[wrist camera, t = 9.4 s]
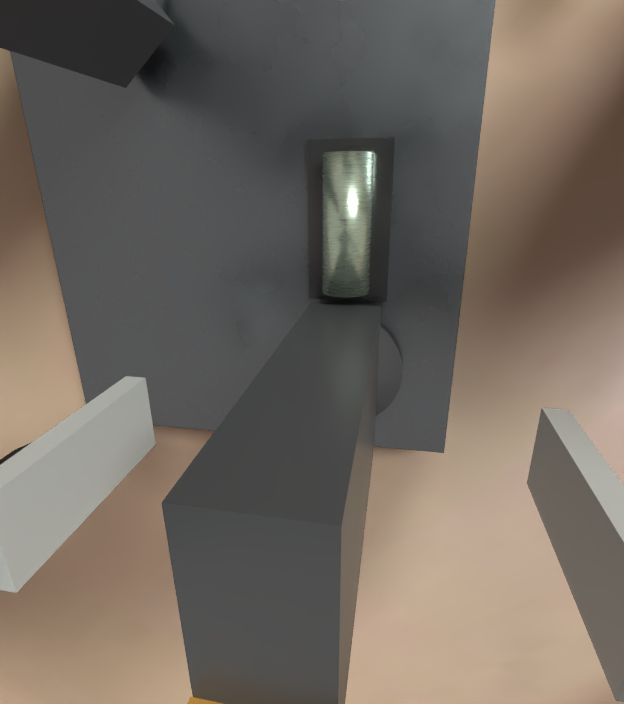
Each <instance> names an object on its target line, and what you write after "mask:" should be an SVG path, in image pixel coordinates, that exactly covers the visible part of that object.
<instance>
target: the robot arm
mask: <svg viewBox="0 0 624 704" xmlns="http://www.w3.org/2000/svg"><path fill="white" fill-rule="evenodd" d="M155 445H156V442H155V436H154V429H153V423H152V416H151V410H150V404H149V397H148V391H147V384H146V378H143V377H130V376H125V377H124V378H123V379H121V380H120V381H118V382H117V383H116V384H114V385H113V386H111V387H110V388H108V389H107V390H106V391H104V392H103V393H101V394H100V395H99V396H97V397H96V398H94V399H93V400H91V401H90V402H89V403H87V404H86V405H84V406H83V407H82V408H80V409H79V410H77V411H76V412H74V413H73V414H72V415H70V416H69V417H67V418H66V419H65V420H63V421H62V422H60V423H59V424H57V425H56V426H55V427H53V428H52V429H50V430H49V431H48V432H46V433H45V434H43V435H42V436H40V437H39V438H38V439H36V440H35V441H33V442H31V443H29V444H27V445H25V446H23V447H20V448H18V449H16V450H14V451H12V452H11V453H10V454H8V455H7V456H5V457H4V458H2V459H1V460H0V590H2V591H7V592H13V593H17V592H18V591H19V590H20V589H21V588H22V586H23V585H24V584H25V583H26V582H27V581H28V580H29V579H30V578H31V577H32V576H33V575H34V574H35V573H36V572H37V570H38V569H39V568H40V567H41V566H42V565H43V564H44V563H45V562H46V561H47V560H48V559H49V558H50V557H51V556H52V555H53V553H54V552H55V551H56V550H57V549H58V548H59V547H60V546H61V545H62V544H63V543H64V542H65V541H66V540H67V539H68V537H69V536H70V535H71V534H72V533H73V532H74V531H75V530H76V529H77V528H78V527H79V526H80V525H81V524H82V523H83V521H84V520H85V519H86V518H87V517H88V516H89V515H90V514H91V513H92V512H93V511H94V510H95V509H96V508H97V507H98V505H99V504H100V503H101V502H102V501H103V500H104V499H105V498H106V497H107V496H108V495H109V494H110V493H111V492H112V491H113V489H114V488H115V487H116V486H117V485H118V484H119V483H120V482H121V481H122V480H123V479H124V478H125V477H126V476H127V475H128V473H129V472H130V471H131V470H132V469H133V468H134V467H135V466H136V465H137V464H138V463H139V462H140V461H141V460H142V459H143V457H144V456H145V455H146V454H147V453H148V452H149V451H150V450H151V449H152V448H153V447H154V446H155ZM527 484H528V487H529V489H530V492H531V494H532V497H533V499H534V501H535V504H536V506H537V509H538V511H539V514H540V516H541V519H542V521H543V524H544V526H545V528H546V531H547V533H548V536H549V538H550V541H551V543H552V546H553V548H554V550H555V553H556V555H557V558H558V560H559V563H560V565H561V568H562V570H563V572H564V575H565V577H566V580H567V582H568V585H569V587H570V590H571V592H572V595H573V597H574V599H575V602H576V604H577V607H578V609H579V612H580V614H581V617H582V619H583V621H584V624H585V626H586V629H587V631H588V634H589V636H590V639H591V641H592V643H593V646H594V648H595V651H596V653H597V656H598V658H599V661H600V663H601V666H602V668H603V670H604V673H605V675H606V678H607V680H608V683H609V685H610V688H611V690H612V692H613V695H614V697H615V700H616V701H621V702H624V485H623V483H622V482H621V481H620V479H619V478H618V477H617V475H616V474H615V472H614V471H613V470H612V468H611V467H610V465H609V464H608V463H607V461H606V460H605V459H604V457H603V456H602V454H601V453H600V452H599V450H598V449H597V448H596V446H595V445H594V443H593V442H592V441H591V439H590V438H589V436H588V435H587V434H586V432H585V431H584V430H583V428H582V427H581V425H580V424H579V423H578V421H577V420H576V418H575V417H574V416H573V414H572V413H571V412H570V410H567V409H554V408H542V409H541V414H540V419H539V424H538V429H537V434H536V440H535V445H534V450H533V455H532V460H531V465H530V470H529V475H528V480H527Z"/></svg>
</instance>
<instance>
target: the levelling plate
mask: <svg viewBox="0 0 624 704" xmlns="http://www.w3.org/2000/svg"><path fill="white" fill-rule="evenodd" d="M494 8H495V0H168V9H167V16H168V17H169V18H170V20H171V21H172V22H173V24H174V27H173V28H172V29H171V31H170V32H169V33H168V34H167V36H166V37H165V38H164V40H163V41H162V42H161V43H160V45H159V46H158V47H157V49H156V50H155V51H154V52H153V54H152V55H151V56H150V58H149V59H148V60H147V61H146V63H145V64H144V65H143V67H142V68H141V69H140V71H139V72H138V73H137V74H136V76H135V77H134V78H133V80H132V81H131V82H130V83H129V85H128V86H127V87H126V88H124V87H121V86H118V85H115V84H112V83H108V82H105V81H102V80H99V79H96V78H93V77H90V76H87V75H84V74H81V73H77V72H74V71H71V70H68V69H65V68H62V67H59V66H56V65H53V64H50V63H46V62H43V61H40V60H37V59H34V58H31V57H28V56H25V55H22V54H19V53H15V52H12V51H10V52H11V57H12V62H13V66H14V71H15V76H16V80H17V85H18V89H19V94H20V99H21V103H22V108H23V113H24V117H25V122H26V127H27V131H28V136H29V141H30V145H31V150H32V155H33V159H34V164H35V168H36V173H37V178H38V182H39V187H40V192H41V196H42V201H43V206H44V210H45V215H46V220H47V224H48V229H49V233H50V238H51V243H52V247H53V252H54V257H55V261H56V266H57V271H58V275H59V280H60V285H61V289H62V294H63V298H64V303H65V308H66V312H67V317H68V322H69V326H70V331H71V336H72V340H73V345H74V350H75V354H76V359H77V364H78V368H79V373H80V377H81V382H82V387H83V391H84V396H85V401H86V404H87V403H89V402H90V401H91V400H93V399H94V398H96V397H97V396H99V395H100V394H101V393H103V392H104V391H106V390H107V389H108V388H110V387H111V386H113V385H114V384H116V383H117V382H118V381H120V380H121V379H123V378H124V377H125V376H130V377H143V378H146V384H147V391H148V397H149V404H150V410H151V416H152V423H153V425H159V426H169V427H180V428H190V429H201V430H211V431H216V429H217V428H218V427H219V425H220V424H221V423H222V421H223V420H224V419H225V417H226V416H227V414H228V413H229V412H230V410H231V409H232V408H233V406H234V405H235V404H236V402H237V401H238V400H239V398H240V397H241V396H242V394H243V393H244V392H245V390H246V389H247V388H248V386H249V385H250V384H251V382H252V381H253V380H254V378H255V377H256V376H257V374H258V373H259V372H260V370H261V369H262V368H263V366H264V365H265V364H266V362H267V361H268V359H269V358H270V357H271V355H272V354H273V353H274V351H275V350H276V349H277V347H278V346H279V345H280V343H281V342H282V341H283V339H284V338H285V337H286V335H287V334H288V333H289V331H290V330H291V329H292V327H293V326H294V325H295V323H296V322H297V321H298V319H299V318H300V317H301V315H302V314H303V313H304V311H305V310H306V309H307V307H308V306H309V304H310V303H311V304H336V305H360V306H381V314H380V324H381V325H382V326H383V327H384V328H386V329H387V330H388V331H389V333H390V334H391V335H392V336H393V338H394V339H395V341H396V343H397V345H398V347H399V350H400V353H401V357H402V381H401V386H400V389H399V391H398V394H397V396H396V397H395V399H394V400H393V402H392V403H391V404H390V405H389V406H388V407H387V408H386V409H385V410H384V411H383V412H381V413H380V414H378V415H376V419H375V440H374V446H377V447H388V448H398V449H408V450H419V451H429V452H439V453H444V447H445V438H446V429H447V420H448V412H449V403H450V394H451V385H452V376H453V368H454V359H455V350H456V341H457V333H458V324H459V315H460V306H461V297H462V289H463V280H464V271H465V262H466V254H467V245H468V236H469V227H470V218H471V210H472V201H473V192H474V183H475V175H476V166H477V157H478V148H479V139H480V131H481V122H482V113H483V104H484V96H485V87H486V78H487V69H488V60H489V52H490V43H491V34H492V25H493V17H494Z"/></svg>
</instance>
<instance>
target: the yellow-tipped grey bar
mask: <svg viewBox="0 0 624 704" xmlns="http://www.w3.org/2000/svg"><path fill="white" fill-rule="evenodd" d="M167 9H168V0H0V48H3V49H6V50H9V51H12V52H15V53H19V54H22V55H25V56H28V57H31V58H34V59H37V60H40V61H43V62H46V63H50V64H53V65H56V66H59V67H62V68H65V69H68V70H71V71H74V72H77V73H81V74H84V75H87V76H90V77H93V78H96V79H99V80H102V81H105V82H108V83H112V84H115V85H118V86H121V87H124V88H126V87H127V86H128V85H129V83H130V82H131V81H132V80H133V78H134V77H135V76H136V74H137V73H138V72H139V71H140V69H141V68H142V67H143V65H144V64H145V63H146V61H147V60H148V59H149V58H150V56H151V55H152V54H153V52H154V51H155V50H156V49H157V47H158V46H159V45H160V43H161V42H162V41H163V40H164V38H165V37H166V36H167V34H168V33H169V32H170V31H171V29H172V28H173V27H174V24H173V22H172V21H171V20H170V18H169V17H168V16H167Z"/></svg>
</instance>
